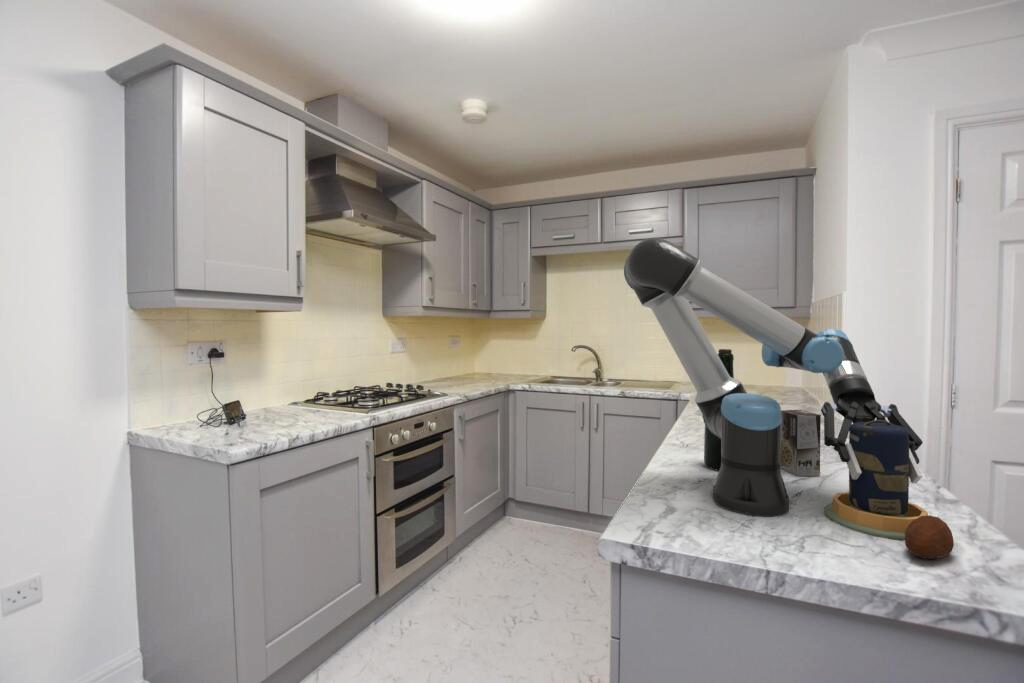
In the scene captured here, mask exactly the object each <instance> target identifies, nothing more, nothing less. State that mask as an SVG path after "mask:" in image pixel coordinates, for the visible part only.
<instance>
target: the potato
mask: <svg viewBox="0 0 1024 683" xmlns="http://www.w3.org/2000/svg"><path fill="white" fill-rule="evenodd" d="M954 541H955V540H954V537H953V532H952V529H950V527H949V526H948V524H947V522H945V521H944V520H943V519H942V518H940V517H937V516H933V515H929V514H928V516H921V517H919V518H917V519H915V520H913V521H912V522H911V523H910V524H909V525H908V527H907V529H906V531H905V540H904V544H905V546H906V548H907V550H908V551H909V552H911V553H912V554H913V555H915V556H917V557H920V558H923V559H939V558H943V557H945V556H948V555H950V554H951V553H952V552H953V550H954V546H955V545H954Z"/></svg>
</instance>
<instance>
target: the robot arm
mask: <svg viewBox="0 0 1024 683" xmlns="http://www.w3.org/2000/svg"><path fill="white" fill-rule="evenodd" d="M623 276H624V279H625V282H626V283H627V285H628V286H629V287H630V288H631V289H632V290H633V291H634V293H635V295H636V297H637V299H638V301H639V302H640V304H641V306H643V307H645V308H648V309H651V311H652V313H653V315H654V316H655V319H656V320H657V322H658V324H659V325H660V327H661V330H662V331H663V333H664V336H666V338H667V340H668V342H669V343H670V345H671V347H672V349H673V351H674V353H675V355H676V356H677V358H678V360H679V361H680V364H681V365H682V367H683V370H685V373H686V375H687V376H688V379H689V380H690V382H691V383H692V385H693V387H694V389H695V390H696V395H695V398H694V402H695V403H696V405H697V407H698V408H699V411H700V412H701V416H702V417H701V418H702V419H703V423H704V426H705V425H706V427H707V428H708V429H709V431H710V432H711V433H713V434H714V435H715V436H717V437H719V438H720V439H721V467H720V470H718V473H717V477H716V479H715V483H714V485H713V486H712V501H713V502H714V503H715V504H717V505H718V506H720V507H722V508H724V509H727V510H730V511H733V512H736V513H739V514H746V515H753V516H762V517H771V516H772V517H775V516H781V515H785V514H787V513H789V512H790V505H791V504H790V503H791V501H790V497H789V495H788V490H787V488H786V484H785V482H784V478H783V475H782V472H781V471H782V470H781V469H782V468H780V466H781V422H782V415H781V410H782V408H781V405H780V403H779V402H778V401H777V400H775V399H774V398H771V397H770V396H765V395H761V394H757V393H756V394H755V393H748V392H747V390H746V389H745V387H744V386H743V384H742V382H741V381H740V379H737V378H735V377H734V378H732V377H730V376H729V374H728V372H727V370H726V369H725V367H724V365H723V363H722V361H721V360H720V358H719V356H718V354H719V353H718V352H717V351H716V349H715V347H714V346H713V344H712V342H711V340H710V338H709V337H708V335H707V333H706V331H705V329H704V327H703V326H702V324H701V322H700V321H699V318H698V316H697V315H696V313H695V311H694V309H693V308H692V306H691V305H690V302H692V304H695V305H697V306H698V307H699V308H701V309H703V310H705V311H706V312H708V313H710V314H711V315H713V316H715V317H716V318H719V319H720V320H721V321H723V322H724V323H727V324H728V325H730V326H732V327H733V328H735V329H737V330H738V331H739V332H742V333H743V334H745V335H747V336H748V337H750V338H752V339H754V340H755V341H757V342H759V343H760V344H762V346H761V358H762V362H763V364H765V365H766V366H767V367H776V368H789V369H796V370H801V371H805V372H811V373H814V374H823V376H824V380H825V382H826V385H827V387H828V390H829V392H830V396H831V398H832V401H833V403H832V404H831V403H830V402H828V401H825V402H824V403H823V404H822V407H821V409H820V411H821V414H822V416H823V438H824V439H823V442H824V446H827V447H833V450H834V451H836V452H837V453H838V456H839V458H840V460H841V462H842V463H845V464H846V465H847V468H848V472H849V471H850V474H851V477H852V479H855V480H857V479H858V477H859V476H860V475H861V473H862V472H861V469H860V467H859V464H858V461H857V459H856V456H855V454H854V451H853V449H852V446H851V444H850V443H849V442H847V438H848V435H849V428H850V425H851V424H853V423H857V422H870V421H874V420H883V421H887V422H890V423H891V424H893V425H898V426H901V427H904V428H905V429H907V430H908V432H909V466H910V467H909V469H910V471H909V481H910V483H911V484H917V483H918V482H919V481H920V480H921V479H922V478H923V473H922V471H921V470H920V468H919V466H918V465H919V463H920V459H919V457H918V453H917V452H916V451H917V450H918V449H920V447H921V446H922V445H923V444H924V441H923V440H922V439H921V437H920V436H919V435H918V434H917V433H916V432H915V430H914V429H913V428H912V427H911V426H910V424H908V422H907V421H906V420H905V418H903V416H902V415H901V414H900V413H899V410H898V407H897V405H896V404H893V403H891V404H889V406H887V405H881V404H880V403H879V402H877V399H876V396H875V393H874V390H873V389H872V387H871V384H870V382H869V381H868V377H867V375H866V374H865V371H864V369H863V367H862V365H861V363H860V361H859V358H858V356H857V353H856V352H855V349H854V346H853V343H852V342H851V341H850V339H849V337H848V336H847V334H846V332H844V331H843V330H841V329H837V328H828V329H826V330H823V329H822V330H820V331H818V332H817V333H815V332H813V331H811V330H810V329H809V328H806V327H804V326H803V325H801V324H799V323H798V322H796V321H795V320H793V319H792V318H789V317H788V316H786V315H785V314H783V313H781V312H779V311H777V310H776V309H774V308H772V307H771V306H770V305H768V304H765V303H764V302H762V301H761V300H759V299H757V298H755V297H754V296H752V295H750V294H749V293H747V292H745V291H744V290H742V289H741V288H739V287H738V286H737V287H736V286H735V285H734V284H732V283H731V282H729V281H727V280H725V279H724V278H722V277H720V276H719V275H716V274H715V273H713V272H711V271H710V270H709V269H707V268H704V267H703V266H702V263H701V260H700V259H699V258H698V257H696V256H693V255H692V254H690V253H689V252H688V251H686V250H684V249H683V248H681V247H680V246H678V245H676V244H674V243H673V242H672V241H669V240H667V239H664V238H658V237H650V238H645V239H644V240H641V241H640V242H638V243H637V244H636V245H635V246H634V247H633V248H632V249H631V250H630V253H629V255H628V256H627V258H626V260H625V262H624V267H623ZM689 301H690V302H689ZM836 412H837V413H839V415H841V416H843V420H842V423H841V426H840V430H839V434H838V435H837V438H836V436H835V431H836V430H835V413H836ZM878 423H882V422H878ZM846 442H847V443H846Z"/></svg>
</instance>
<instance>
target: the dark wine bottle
mask: <svg viewBox="0 0 1024 683" xmlns="http://www.w3.org/2000/svg"><path fill="white" fill-rule="evenodd" d="M732 352H733V351H732V349H729V348H720V349H718V353H717V354H718V356H719V358H720V360H721V361H722V363H723V365H724V367H725V369H726V370H727V372H728V374H729V376H730V377H732V378H734V379H735V375H734V360H735V357H734V354H733V353H732ZM703 436H704V440H703V464H704V465H705V466H706V467H707V468H709V469H711V468H712V469H711V470H716V471H719V470H720V467H721V439H720V438H719V437H717V436H715V435H714V434H713V433H711V432H710V431H709V429H708V428H707V427H706V425H705V424H704V435H703Z"/></svg>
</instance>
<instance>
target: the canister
mask: <svg viewBox="0 0 1024 683" xmlns="http://www.w3.org/2000/svg"><path fill="white" fill-rule="evenodd" d="M887 421H888V420H887ZM887 421H883V420H876V419H875V420H874V421H870V422H857V423H853V422H852V424H851V425H850V428H849V433H848V435H849V438H848V439H849V440H848V441H849V442H848V443H850V444H851V446H852V449H853V451H854V454H855V456H856V459H857V461H858V464H859V467H860V469H861V472H862V473H861V475H860V476H859V477H858V479H857V480H855V479H852V477H851V474H850V471H849V470H848V492H849V501H850V502H851V504H852V505H854V506H855V507H857V508H859V509H862V510H865V511H868V512H872V513H876V514H882V515H890V516H895V515H902V514H905V513H906V512H907V511H908V502H909V496H910V495H909V492H910V491H909V487H910V485H909V484H910V478H909V471H910V469H909V467H910V466H909V432H908V430H907V429H905V428H904V427H901V426H898V425H893V424H891V423H890V422H889V421H888V422H887ZM878 422H882V423H878Z"/></svg>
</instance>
